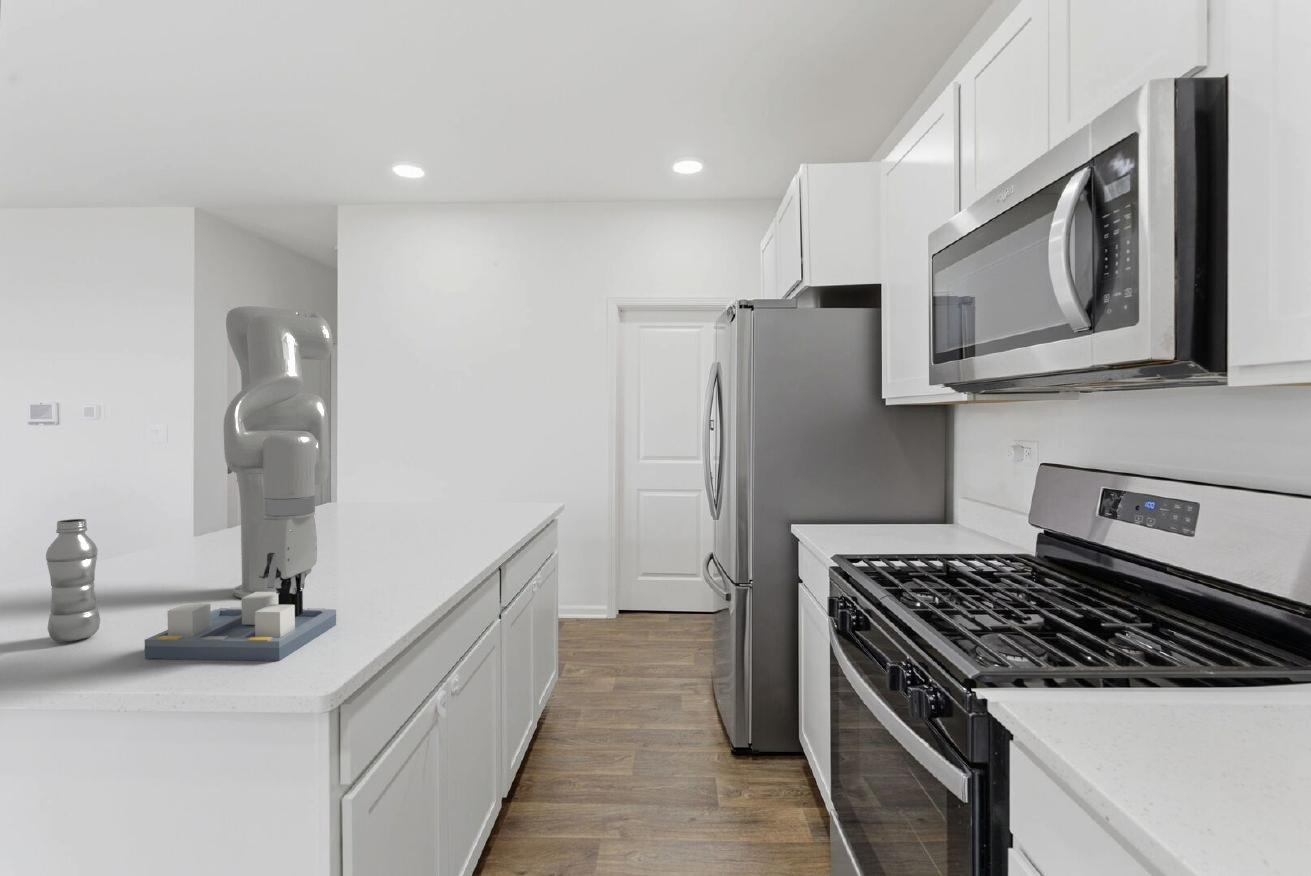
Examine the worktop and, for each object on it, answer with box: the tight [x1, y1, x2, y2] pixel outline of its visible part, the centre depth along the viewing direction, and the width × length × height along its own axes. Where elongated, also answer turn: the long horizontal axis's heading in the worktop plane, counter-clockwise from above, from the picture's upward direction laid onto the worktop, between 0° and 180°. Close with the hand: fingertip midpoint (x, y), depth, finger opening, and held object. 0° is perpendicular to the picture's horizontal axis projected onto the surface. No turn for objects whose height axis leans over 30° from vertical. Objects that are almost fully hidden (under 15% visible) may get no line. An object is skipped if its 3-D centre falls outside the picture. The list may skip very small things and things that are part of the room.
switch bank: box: [144, 606, 337, 662], centre depth 107 cm, size 17×21×3 cm
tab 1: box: [167, 602, 211, 637], centre depth 103 cm, size 4×4×4 cm
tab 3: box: [255, 604, 295, 638], centre depth 103 cm, size 4×4×4 cm
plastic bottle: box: [45, 518, 101, 642], centre depth 107 cm, size 6×7×20 cm
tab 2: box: [241, 592, 278, 625], centre depth 111 cm, size 4×4×4 cm
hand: (290, 615), depth 108 cm, fingers closed
